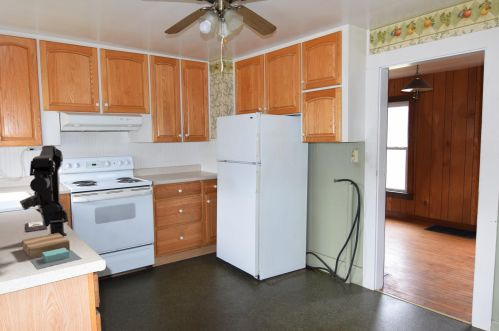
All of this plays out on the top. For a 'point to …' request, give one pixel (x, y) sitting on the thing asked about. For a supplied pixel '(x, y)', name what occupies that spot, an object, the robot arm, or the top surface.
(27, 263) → the top surface
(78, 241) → the top surface
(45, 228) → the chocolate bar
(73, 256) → the slate mat
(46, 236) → the oak deck
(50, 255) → the teal tile
